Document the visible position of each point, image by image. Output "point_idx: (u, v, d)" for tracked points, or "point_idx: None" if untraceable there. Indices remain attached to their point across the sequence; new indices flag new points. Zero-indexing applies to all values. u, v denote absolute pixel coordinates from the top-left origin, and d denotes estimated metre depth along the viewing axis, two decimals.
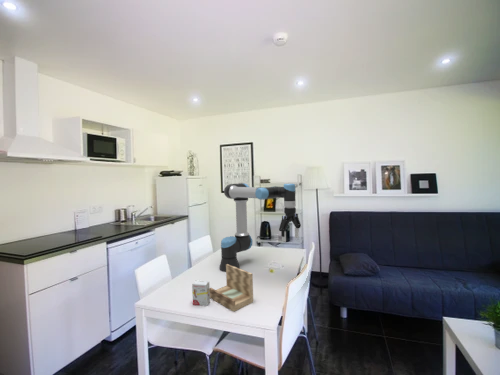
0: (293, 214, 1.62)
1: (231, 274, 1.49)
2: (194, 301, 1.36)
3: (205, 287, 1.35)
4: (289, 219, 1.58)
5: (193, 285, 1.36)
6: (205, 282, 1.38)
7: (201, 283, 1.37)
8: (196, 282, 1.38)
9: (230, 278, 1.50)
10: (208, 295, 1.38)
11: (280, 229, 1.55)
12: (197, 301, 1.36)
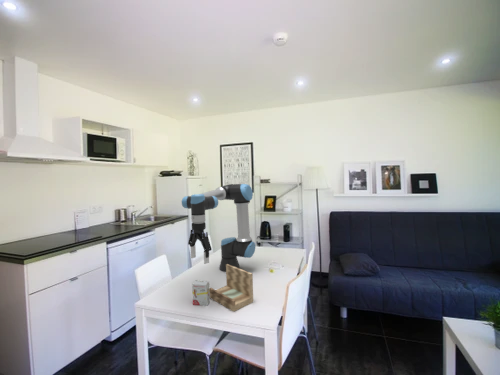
0: (199, 232, 1.34)
1: (231, 274, 1.49)
2: (194, 301, 1.36)
3: (205, 287, 1.35)
4: (193, 235, 1.38)
5: (193, 285, 1.36)
6: (205, 282, 1.38)
7: (201, 283, 1.37)
8: (196, 282, 1.38)
9: (230, 278, 1.50)
10: (208, 295, 1.38)
11: None
12: (197, 301, 1.36)
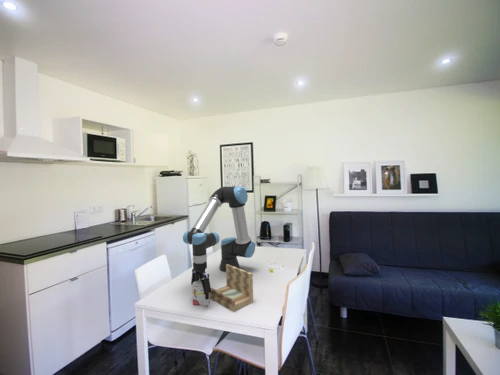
0: (200, 271, 1.35)
1: (231, 274, 1.49)
2: (194, 301, 1.36)
3: None
4: (195, 275, 1.38)
5: (193, 285, 1.36)
6: None
7: (201, 283, 1.37)
8: (196, 282, 1.38)
9: (230, 278, 1.50)
10: None
11: None
12: (197, 301, 1.36)
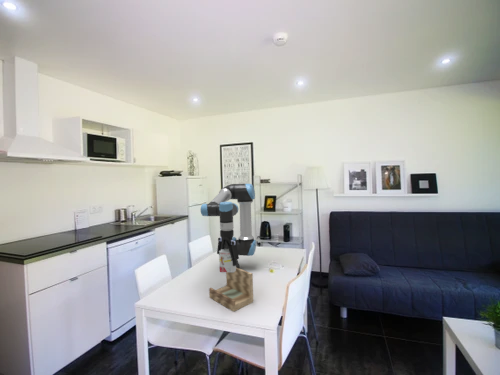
0: (228, 238, 1.36)
1: (231, 274, 1.49)
2: (221, 269, 1.38)
3: None
4: (221, 243, 1.40)
5: (220, 252, 1.37)
6: None
7: (228, 250, 1.38)
8: (223, 250, 1.39)
9: (230, 278, 1.50)
10: None
11: None
12: (224, 269, 1.37)
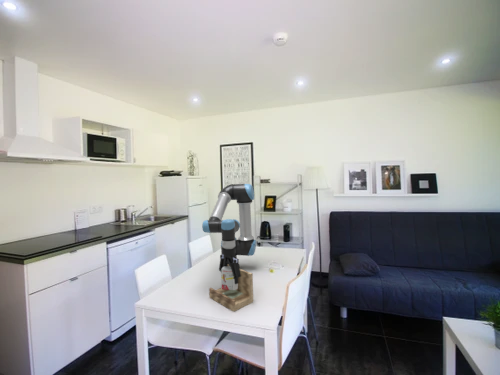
0: (230, 256, 1.37)
1: None
2: (223, 286, 1.39)
3: None
4: (223, 260, 1.41)
5: (222, 270, 1.38)
6: None
7: (230, 268, 1.39)
8: (225, 267, 1.40)
9: None
10: None
11: None
12: (226, 286, 1.38)
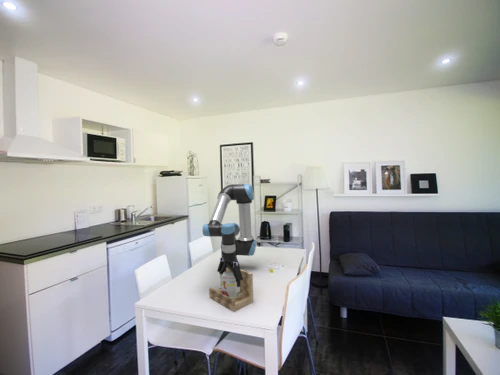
0: (230, 261, 1.38)
1: None
2: (223, 293, 1.39)
3: (234, 278, 1.38)
4: (223, 263, 1.41)
5: (222, 277, 1.39)
6: None
7: (230, 275, 1.39)
8: (225, 274, 1.41)
9: None
10: None
11: None
12: (226, 293, 1.39)
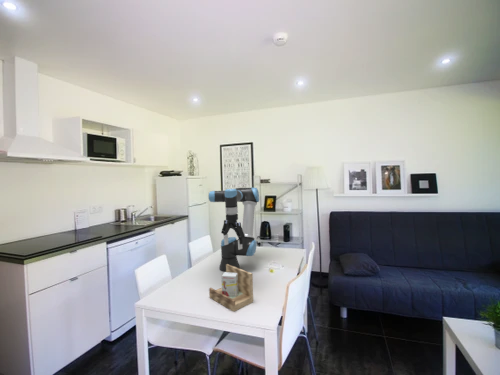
0: (232, 222, 1.53)
1: None
2: (223, 293, 1.39)
3: (234, 279, 1.38)
4: (227, 225, 1.56)
5: (222, 277, 1.39)
6: (234, 274, 1.40)
7: (230, 275, 1.39)
8: (225, 274, 1.41)
9: None
10: (237, 287, 1.40)
11: None
12: (226, 293, 1.39)
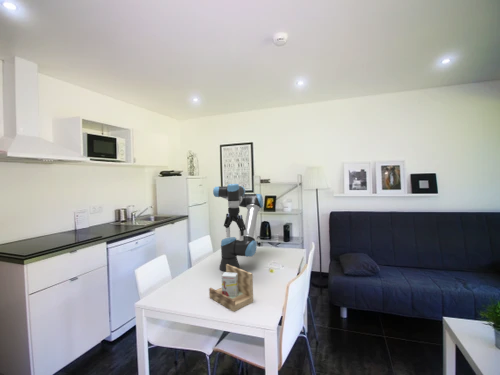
0: (234, 214, 1.62)
1: None
2: (223, 293, 1.39)
3: (234, 279, 1.38)
4: (229, 218, 1.65)
5: (222, 277, 1.39)
6: (234, 274, 1.40)
7: (230, 275, 1.39)
8: (225, 274, 1.41)
9: None
10: (237, 287, 1.40)
11: None
12: (226, 293, 1.39)
